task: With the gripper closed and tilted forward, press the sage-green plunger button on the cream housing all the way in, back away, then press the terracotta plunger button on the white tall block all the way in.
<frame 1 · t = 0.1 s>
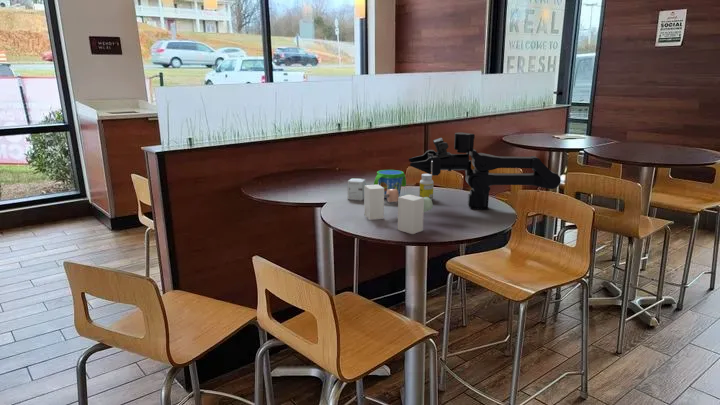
hand: (409, 162, 174), 17 cm above the table, tool horizontal, fingers open, 9 cm apart
snack cup: (390, 197, 193), on the table
skincare box: (356, 198, 191), on the table
terracotta button: (387, 195, 166), point 7 cm above the table, slide at 0.0 cm
white tall block: (373, 216, 166), on the table
sage button: (420, 205, 153), point 7 cm above the table, slide at 0.0 cm
supplement bottle: (426, 199, 190), on the table
sage button housing: (410, 230, 152), on the table
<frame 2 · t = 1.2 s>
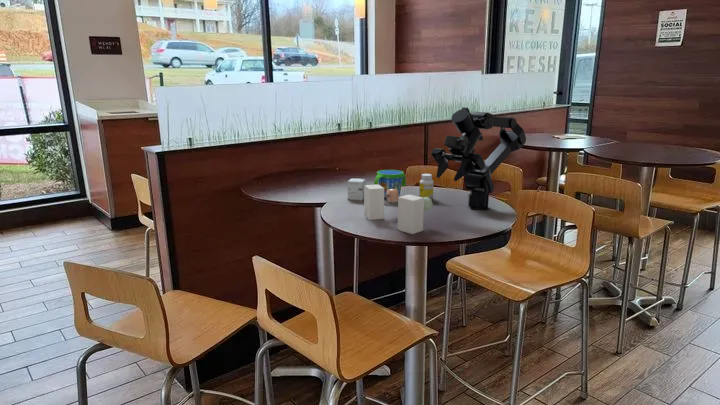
hand: (445, 178, 160), 14 cm above the table, tool tilted 45°, fingers open, 7 cm apart
nothing on the table moved.
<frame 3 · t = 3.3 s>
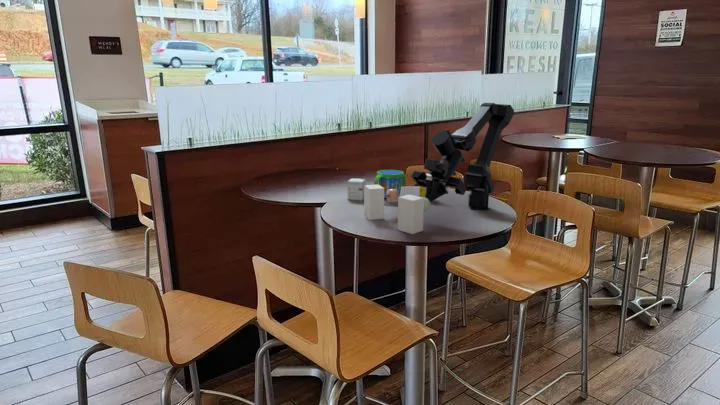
hand: (425, 203, 155), 7 cm above the table, tool tilted 45°, fingers closed, pressing on sage button
sage button: (418, 206, 153), point 7 cm above the table, slide at 1.0 cm, touching gripper
everything else where it was.
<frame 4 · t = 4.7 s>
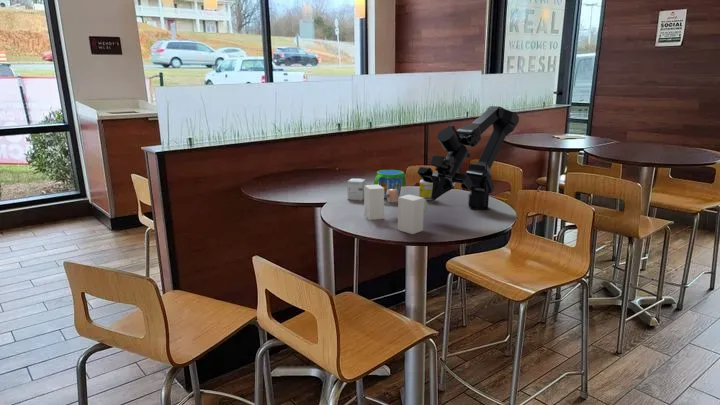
hand: (432, 199, 157), 8 cm above the table, tool tilted 45°, fingers closed
sage button: (415, 207, 152), point 7 cm above the table, slide at 2.4 cm
everything else where it was.
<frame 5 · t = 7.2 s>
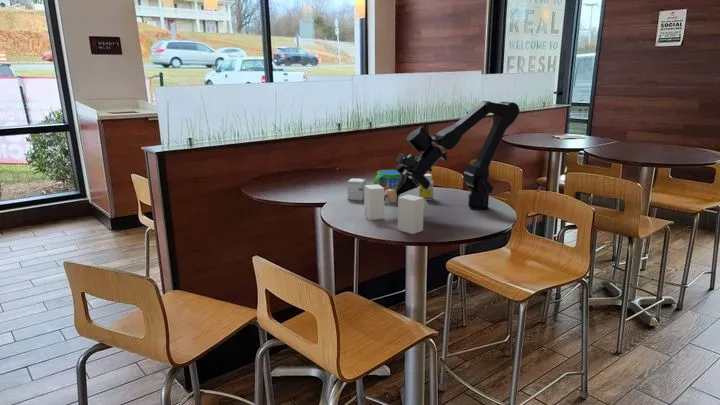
hand: (395, 194, 166), 7 cm above the table, tool tilted 45°, fingers closed, pressing on terracotta button
terracotta button: (385, 196, 165), point 7 cm above the table, slide at 0.6 cm, touching gripper
everything else where it was.
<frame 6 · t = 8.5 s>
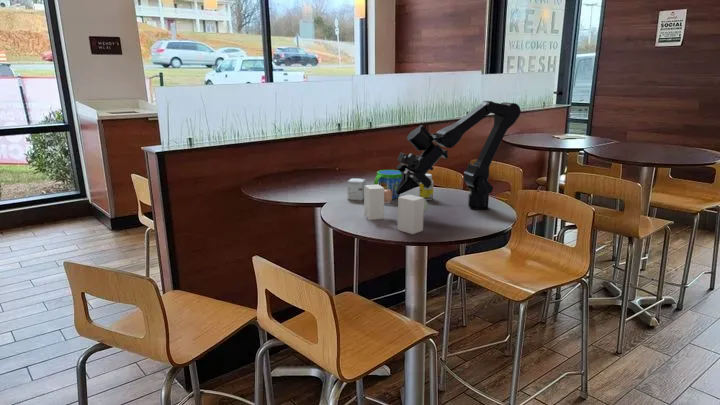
hand: (397, 193, 166), 7 cm above the table, tool tilted 45°, fingers closed
terracotta button: (380, 196, 165), point 7 cm above the table, slide at 2.4 cm
everything else where it was.
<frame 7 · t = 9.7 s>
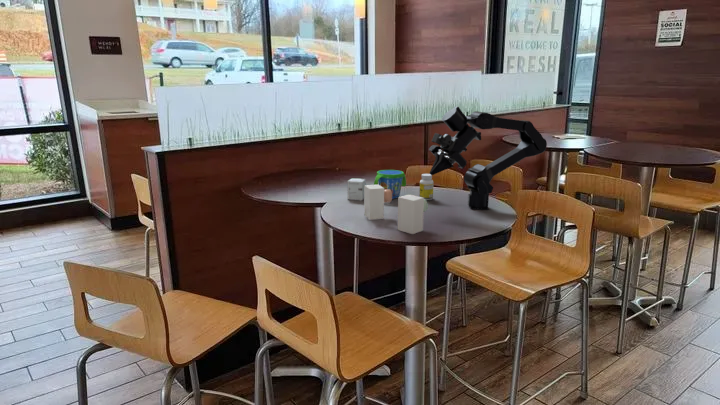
hand: (430, 174, 168), 14 cm above the table, tool tilted 45°, fingers closed
nothing on the table moved.
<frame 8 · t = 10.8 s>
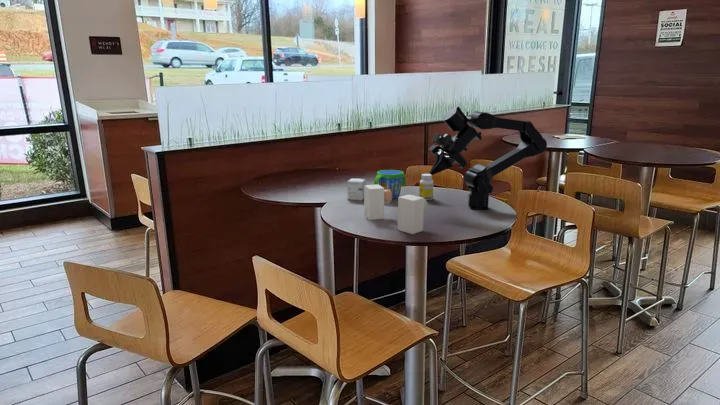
hand: (430, 174, 168), 14 cm above the table, tool tilted 45°, fingers closed
nothing on the table moved.
at the end: sage button slide at 2.4 cm; terracotta button slide at 2.4 cm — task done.
